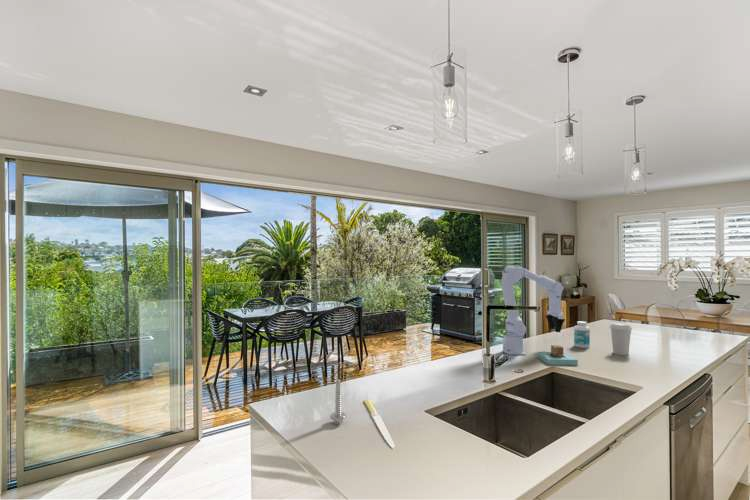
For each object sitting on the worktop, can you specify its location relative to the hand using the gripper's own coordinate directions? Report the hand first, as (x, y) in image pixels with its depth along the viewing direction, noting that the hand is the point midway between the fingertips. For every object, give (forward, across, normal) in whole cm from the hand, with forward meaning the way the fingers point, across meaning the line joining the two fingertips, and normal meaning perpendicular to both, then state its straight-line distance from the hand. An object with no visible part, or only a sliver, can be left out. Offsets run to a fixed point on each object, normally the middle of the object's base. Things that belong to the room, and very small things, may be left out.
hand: (554, 330), depth 198 cm
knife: (+11, -88, +87) cm, 124 cm away
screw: (+11, -90, +100) cm, 135 cm away
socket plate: (+10, -20, +7) cm, 23 cm away
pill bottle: (+11, +9, -18) cm, 23 cm away
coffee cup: (+11, -4, -31) cm, 33 cm away
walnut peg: (+10, -20, +7) cm, 23 cm away
